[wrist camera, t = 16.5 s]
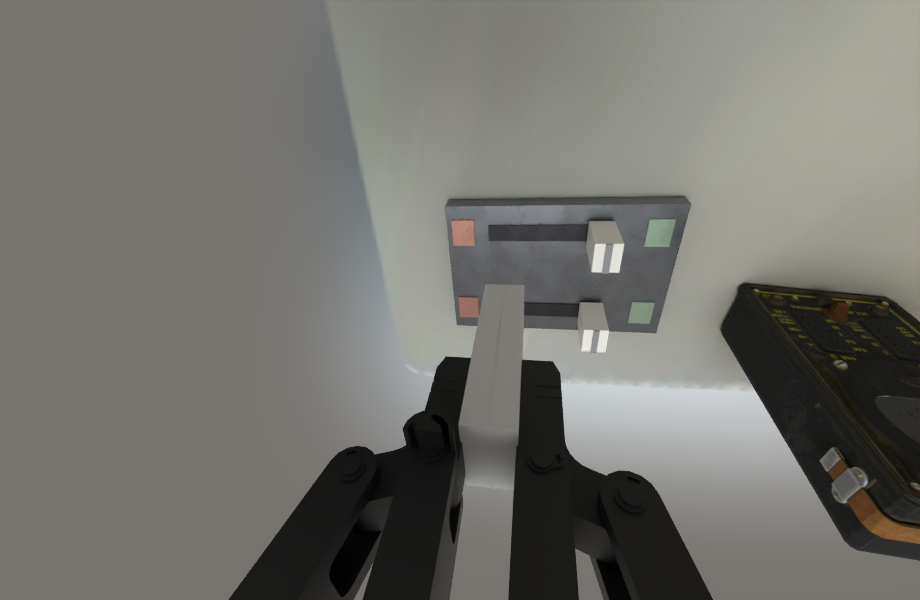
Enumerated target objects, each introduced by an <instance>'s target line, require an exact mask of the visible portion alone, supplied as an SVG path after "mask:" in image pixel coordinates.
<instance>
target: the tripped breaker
mask: <svg viewBox="0 0 920 600" xmlns="http://www.w3.org/2000/svg"><path fill="white" fill-rule="evenodd" d="M577 324H578V331H579V338H580V346H581V351H590V353H596V352H605V351H606V345H607V340H608V334H609V328H608V324H607V319H606V315H605V311H604V307H603V303H589V302H580V305H579V313H578V322H577Z"/></svg>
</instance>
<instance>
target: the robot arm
mask: <svg viewBox="0 0 920 600" xmlns="http://www.w3.org/2000/svg"><path fill="white" fill-rule="evenodd" d="M524 287H525V285H495V284H485V288H484V293H483V299H482V304H481V309H480V314H479V320H478V325H477V330H476V335H475V340H474V346H473V351H472V356H471V358H462V357H445V359H444V360H443V361H442V362H441V363H440V364H439V366H438V367H437V369H436V373H435V376H434V382H433V384H432V387H431V392H430V394H429V398H428V401H427V405H426V408H425V411H422V412H419V413H417V414H415V415H414V416H412V417H411V418H410V419H409V420H407V422H406V424H405V425H404V427H403V432H404V436H405V441H406V446H404V447H402V448H400V449H397V450H394V451H390V452H385V453H380V454H376V455H374V453H373V452H372V451H371V450H369V449H368V448H366V447H361V446H355V447H350V448H347V449H345V450H343V451H341V452H339V453H338V454H337V455H336V456H335V457H334V458H333V459H332V460H331V461H330V462H329V464H328V465H327V466H326V468H325V469H324V470H323V472H322V473H321V475H320V476H319V477H318V479H317V480H316V482H315V483H314V484H313V485H312V487H311V488H310V490H309V491H308V492H307V494H306V495H305V496H304V498H303V499H302V501H301V502H300V503H299V505H298V506H297V507H296V509H295V510H294V511H293V513H292V514H291V515H290V517H289V518H288V519H287V521H286V522H285V524H284V525H283V526H282V528H281V529H280V531H279V532H278V533H277V535H276V536H275V537H274V539H273V540H272V541H271V543H270V544H269V545H268V547H267V548H266V550H265V551H264V552H263V554H262V555H261V556H260V558H259V559H258V561H257V562H256V563H255V564H254V566H253V567H252V569H251V570H250V571H249V573H248V574H247V576H246V577H245V578H244V579H243V581H242V582H241V584H240V585H239V586H238V588H237V589H236V590H235V592H234V593H233V594H232V596H231V597H230V598H229V600H354V598H355V596H356V594H357V592H358V590H359V588H360V586H361V584H362V582H363V581H364V579H365V577H366V575H367V573H368V571H369V569H370V567H371V565H372V564H373V566H372V570H371V573H370V576H369V580H368V583H367V586H366V590H365V593H364V597H363V600H449V598H450V591H451V585H452V578H453V571H454V564H455V557H456V551H457V544H458V537H459V530H460V523H461V516H462V510H463V497H462V491H463V485H464V479H465V485H470V486H479V487H489V488H497V489H506V490H514V498H513V518H512V538H511V558H510V579H509V598H508V599H509V600H579V597H578V582H577V569H576V555H575V548H576V549H578V550H580V551H582V552H584V553H586V554H588V555H590V558H591V562H592V565H593V567H594V571H595V574H596V577H597V580H598V583H599V587H600V589H601V593H602V596H603V599H604V600H713V599H712V597H711V595H710V593H709V591H708V589H707V587H706V585H705V583H704V581H703V579H702V577H701V575H700V573H699V571H698V570H697V568H696V566H695V564H694V562H693V560H692V558H691V556H690V554H689V552H688V550H687V548H686V546H685V544H684V542H683V541H682V538H681V536H680V534H679V533H678V530H677V529H676V527H675V525H674V523H673V521H672V519H671V517H670V515H669V513H668V511H667V509H666V507H665V505H664V503H663V501H662V499H661V497H660V495H659V494H658V492H657V491H656V490H655V488H654V487H653V485H652V484H651V483H650V482H648V481H647V480H646V479H645V478H643V477H642V476H640V475H638V474H635V473H633V472H630V471H616V472H613V473H610V474H608V475H607V476H606V475H603V474H601V473H598V472H596V471H593V470H591V469H589V468H587V467H585V466H583V465H581V464H580V463H579V462H577V461H576V460H575V459H574V458H573V457H572V455H571V454H570V453H569V451H568V449H567V447H566V443H565V437H564V422H563V408H562V393H561V378H560V372H559V371H558V369H557V368H556V366H555V364H554V363H553V361H534V360H523V330H524ZM373 562H374V563H373Z"/></svg>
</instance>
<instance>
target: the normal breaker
mask: <svg viewBox="0 0 920 600" xmlns="http://www.w3.org/2000/svg"><path fill="white" fill-rule="evenodd" d="M623 249H624V242H623V239H622V237H621V234H620V232H619V229H618V227H617V224H616V222H615V221H589V227H588V235H587V243H586V250H587V255H588V259H589V264H590V268H591V272H601V273H602V274H609V273H619V271H620V265H621V260H622V254H623Z"/></svg>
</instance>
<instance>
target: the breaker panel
mask: <svg viewBox="0 0 920 600" xmlns="http://www.w3.org/2000/svg"><path fill="white" fill-rule="evenodd" d="M690 206H691V203H690V202H689V201H688V200H687V198H686V197H685V196H670V197H601V198H533V199H464V200H448V202H447V204H446V206H445V209H446V219H447V229H448V239H449V250H450V260H451V270H452V280H453V290H454V300H455V310H456V320H457V325H467V326H477V325H478V320H479V314H480V309H481V304H482V299H483V293H484V288H485V284H495V285H525V287H524V328H542V329H567V330H578V324H577V322H578V313H579V305H580V302H589V303H603V307H604V311H605V315H606V319H607V324H608V328H609V331H617V332H642V333H656V332H657V328H658V324H659V320H660V317H661V313H662V309H663V306H664V302H665V298H666V295H667V291H668V287H669V284H670V280H671V276H672V272H673V269H674V265H675V261H676V258H677V254H678V250H679V247H680V243H681V239H682V236H683V232H684V228H685V224H686V221H687V217H688V213H689V210H690ZM589 221H615V222H616V224H617V227H618V229H619V232H620V234H621V237H622V239H623V242H624V249H623V254H622V260H621V265H620V271H619V273H609V274H602V273H601V272H591V268H590V264H589V259H588V255H587V250H586V243H587V235H588V227H589Z"/></svg>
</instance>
